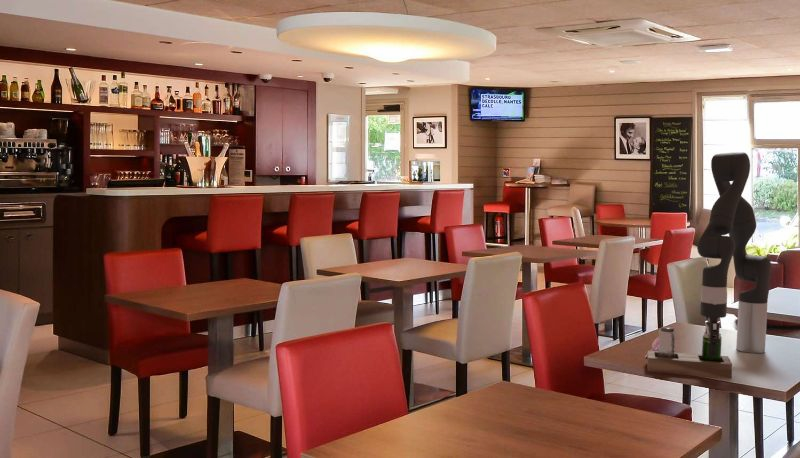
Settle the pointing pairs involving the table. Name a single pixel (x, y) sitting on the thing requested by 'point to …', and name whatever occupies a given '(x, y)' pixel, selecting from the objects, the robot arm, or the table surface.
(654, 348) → the lily
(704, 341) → the beer can
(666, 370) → the caddy
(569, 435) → the table surface
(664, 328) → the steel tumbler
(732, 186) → the robot arm
